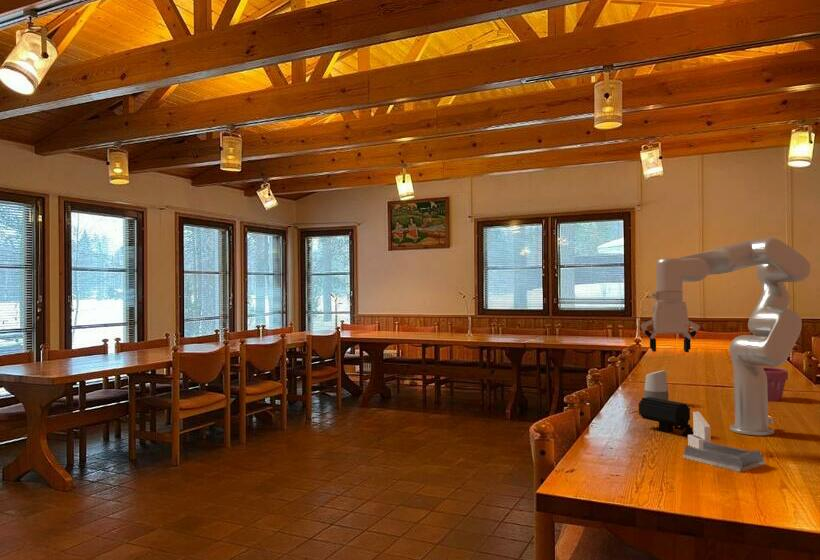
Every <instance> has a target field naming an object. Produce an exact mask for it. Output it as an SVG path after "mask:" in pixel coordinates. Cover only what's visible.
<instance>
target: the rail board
mask: <svg viewBox="0 0 820 560" xmlns="http://www.w3.org/2000/svg"><path fill="white" fill-rule="evenodd" d="M682 458H683V459H685V458H686V459H685V460H689V459H690V461H693V460H694V461H693V462H697V461H698V463H701V462H702V464H705V463H706V465H709V464H710V466H713V465H714V467H717V466H718V467H717V468H721V467H723V468H722V469H725V468H726V470H729V469H730V471H733V472H737V473H742V472H745V471H748V470H752V468H753V469H755V468H759V467H762V466H765V465H766V460H764V453H761V450H757V449H753V450H746V449H741V448H737V447H732V446H729V445H723V444H719V443H714V442H711V443H710V442H703V449H699V448H694V447H691V446H689V445H685V446H684V453H683V454H682Z"/></svg>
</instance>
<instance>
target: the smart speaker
mask: <svg viewBox="0 0 820 560" xmlns="http://www.w3.org/2000/svg"><path fill="white" fill-rule="evenodd" d="M643 391H644V394H643V398H646V397H652V398H658V399H663V400H669V387H668V379H667V372H666V369H663V370H658V371H655V372H653V371H652V372H650V373H647V374H646V375H645V382H644V390H643Z"/></svg>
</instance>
